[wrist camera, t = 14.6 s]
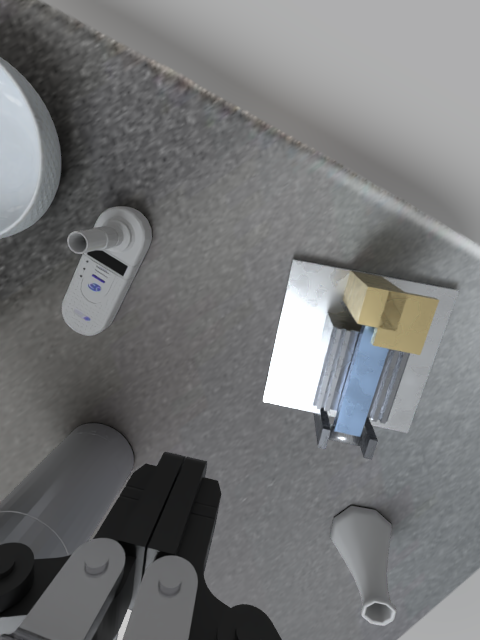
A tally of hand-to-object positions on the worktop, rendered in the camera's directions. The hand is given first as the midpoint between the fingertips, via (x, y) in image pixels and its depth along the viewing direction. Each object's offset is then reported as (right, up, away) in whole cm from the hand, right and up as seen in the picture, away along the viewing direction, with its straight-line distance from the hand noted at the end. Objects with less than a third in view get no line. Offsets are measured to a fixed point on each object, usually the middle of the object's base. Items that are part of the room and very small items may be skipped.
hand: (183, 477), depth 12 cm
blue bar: (+13, 0, +20) cm, 24 cm away
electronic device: (-12, +11, +27) cm, 32 cm away
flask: (+17, -20, +32) cm, 42 cm away
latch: (+15, +8, +23) cm, 29 cm away
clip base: (+14, +3, +26) cm, 29 cm away
